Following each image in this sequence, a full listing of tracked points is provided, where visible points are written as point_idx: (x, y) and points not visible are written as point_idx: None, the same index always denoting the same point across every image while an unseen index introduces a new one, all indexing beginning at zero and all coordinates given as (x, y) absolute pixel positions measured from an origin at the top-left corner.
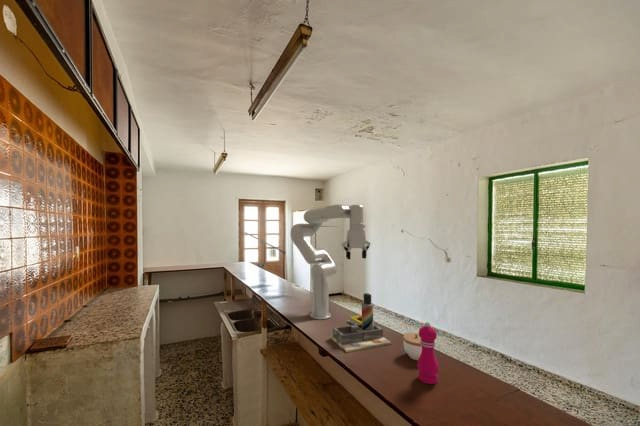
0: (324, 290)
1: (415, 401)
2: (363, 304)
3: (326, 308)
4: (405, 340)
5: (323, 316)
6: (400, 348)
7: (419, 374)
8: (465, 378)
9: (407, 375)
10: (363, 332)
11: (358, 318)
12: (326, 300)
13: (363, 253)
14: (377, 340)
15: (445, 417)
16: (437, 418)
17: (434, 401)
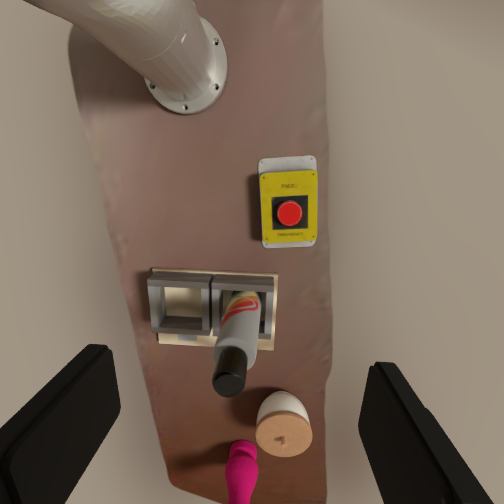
0: (141, 57)
1: (191, 469)
2: (215, 357)
3: (190, 88)
4: (255, 431)
5: (184, 101)
6: (278, 368)
7: (230, 452)
8: (297, 467)
9: (221, 432)
10: (213, 333)
11: (281, 201)
12: (177, 76)
13: (398, 483)
14: None
15: (204, 494)
16: (194, 492)
17: (213, 477)
